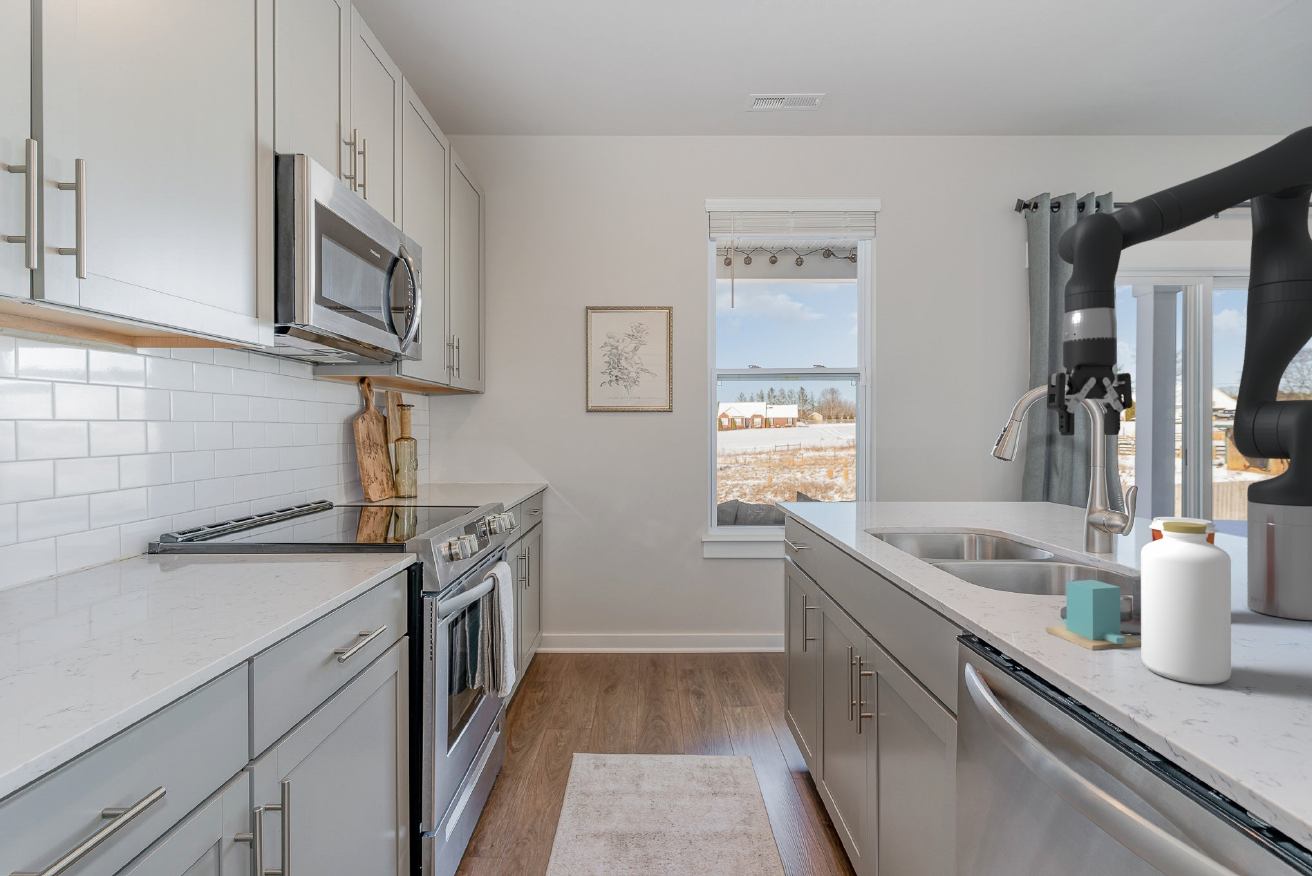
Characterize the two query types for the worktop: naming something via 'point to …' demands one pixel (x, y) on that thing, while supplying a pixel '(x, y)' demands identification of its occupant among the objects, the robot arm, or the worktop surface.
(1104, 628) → the teal block with tabs
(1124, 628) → the grey round stand
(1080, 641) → the coaster
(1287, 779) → the worktop surface
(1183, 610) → the potion bottle
